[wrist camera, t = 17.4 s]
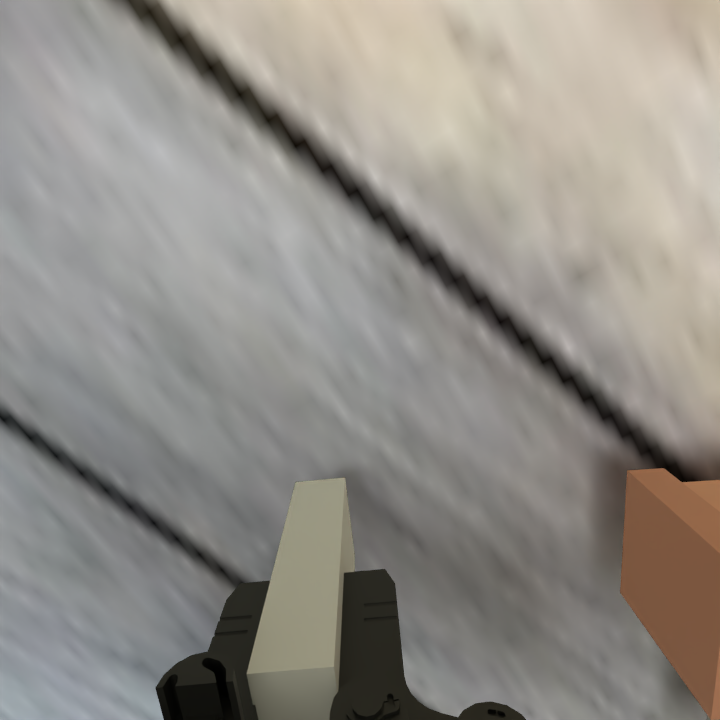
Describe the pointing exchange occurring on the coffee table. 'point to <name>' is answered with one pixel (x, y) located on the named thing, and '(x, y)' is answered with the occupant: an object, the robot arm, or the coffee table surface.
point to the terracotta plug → (676, 574)
